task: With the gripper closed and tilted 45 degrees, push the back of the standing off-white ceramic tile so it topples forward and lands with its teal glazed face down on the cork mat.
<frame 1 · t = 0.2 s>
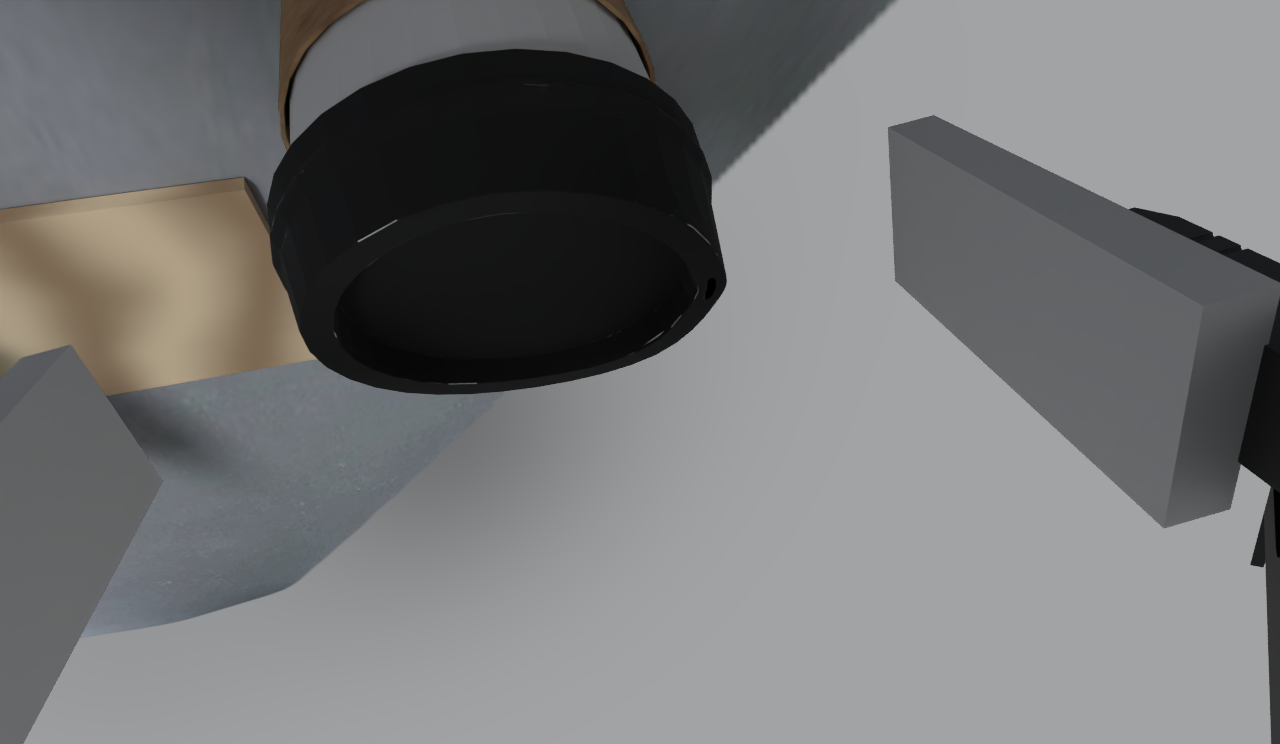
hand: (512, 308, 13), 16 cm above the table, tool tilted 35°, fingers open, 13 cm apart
mat: (77, 310, 35), on the table
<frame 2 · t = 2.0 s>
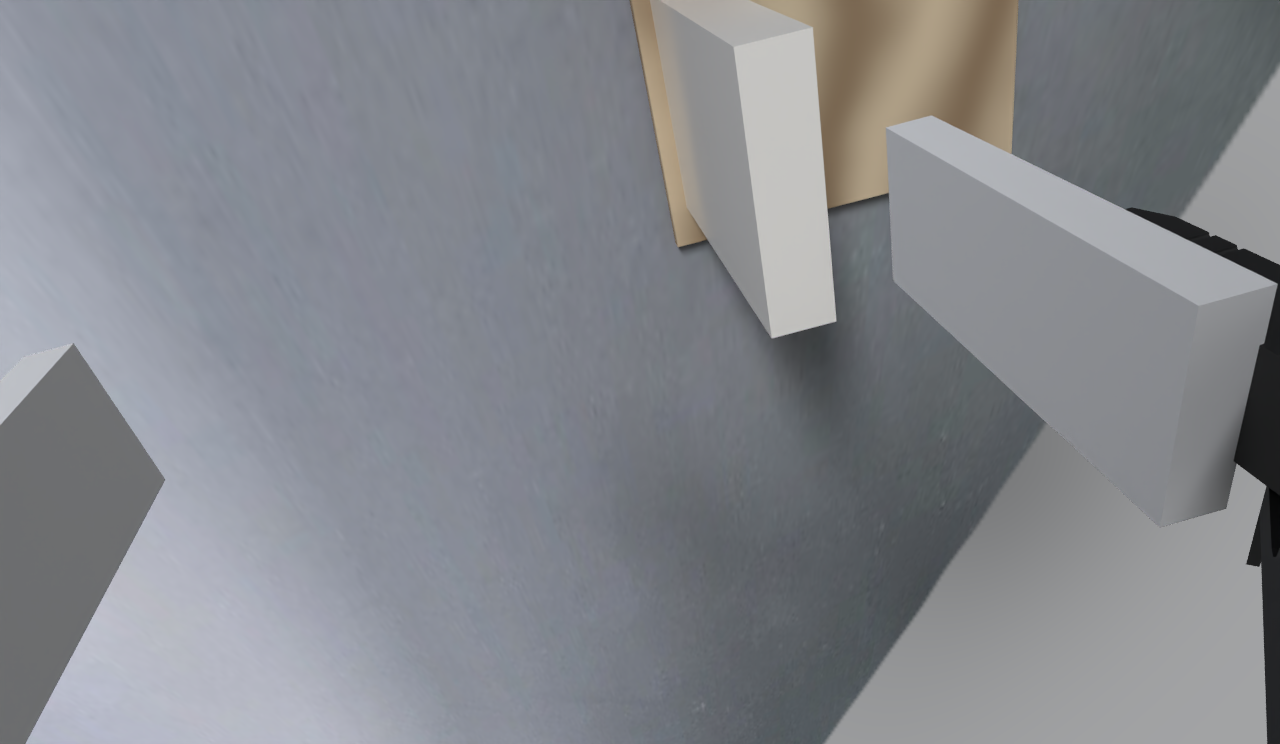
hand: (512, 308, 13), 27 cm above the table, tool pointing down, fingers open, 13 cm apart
tile: (693, 101, 38), point 1 cm above the table, touching mat
mat: (832, 62, 39), on the table
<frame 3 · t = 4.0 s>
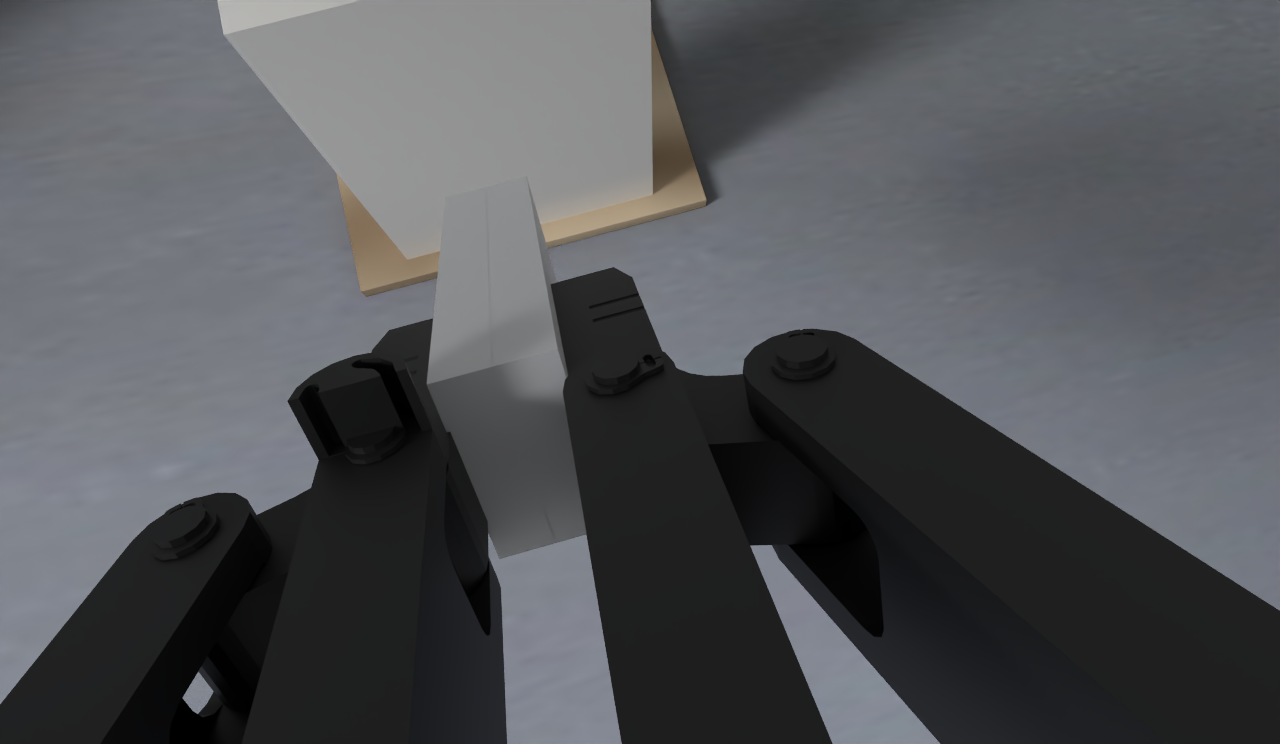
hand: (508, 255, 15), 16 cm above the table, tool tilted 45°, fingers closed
tile: (523, 199, 33), point 1 cm above the table, touching mat
mat: (487, 59, 35), on the table
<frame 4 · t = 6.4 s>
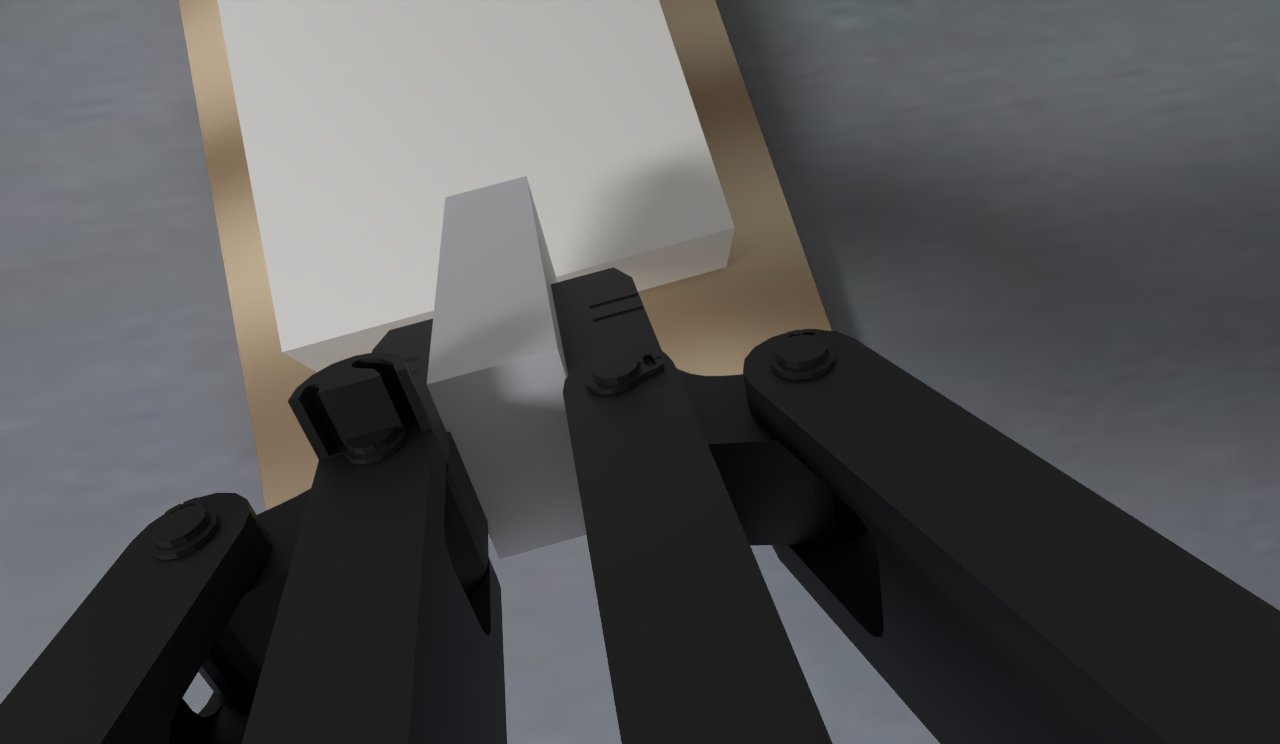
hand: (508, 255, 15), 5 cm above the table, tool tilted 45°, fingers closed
tile: (520, 306, 19), point 2 cm above the table, tilted 90°, touching mat
mat: (481, 136, 22), on the table
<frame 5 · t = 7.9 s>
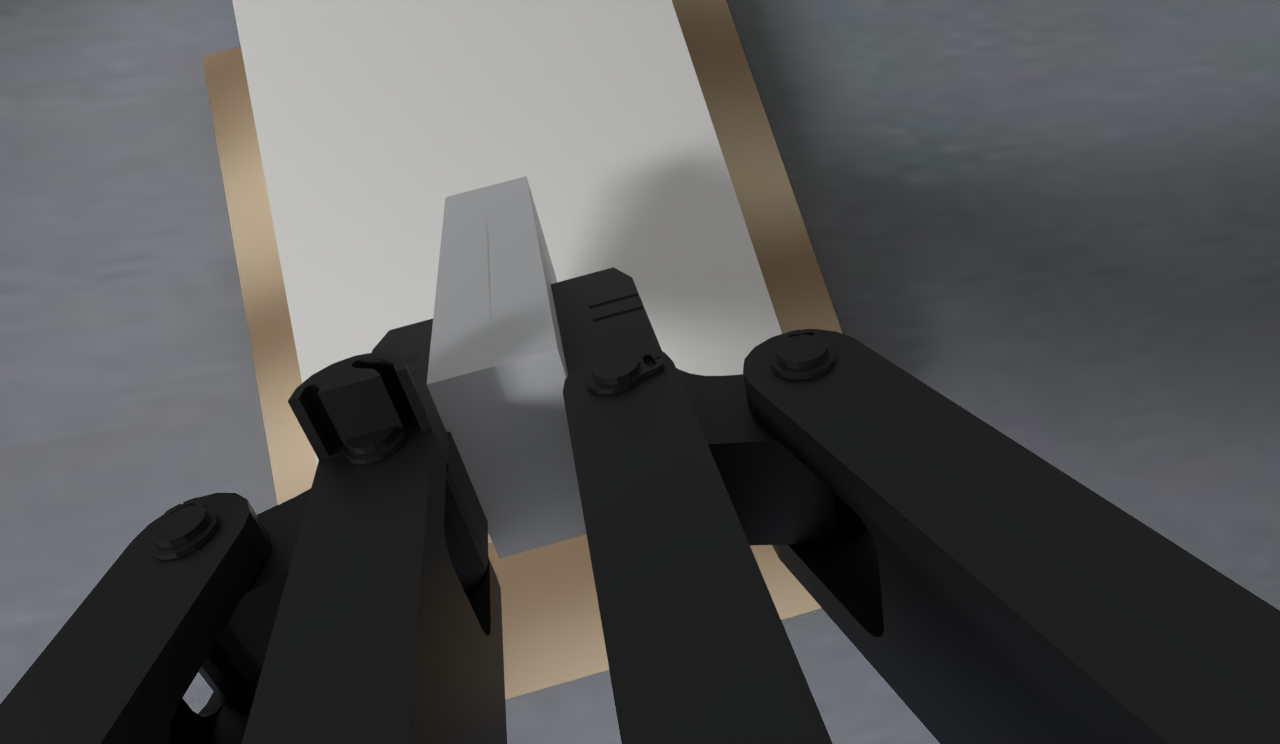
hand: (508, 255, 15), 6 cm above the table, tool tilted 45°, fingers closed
tile: (585, 511, 18), point 2 cm above the table, tilted 90°, touching mat
mat: (536, 301, 21), on the table
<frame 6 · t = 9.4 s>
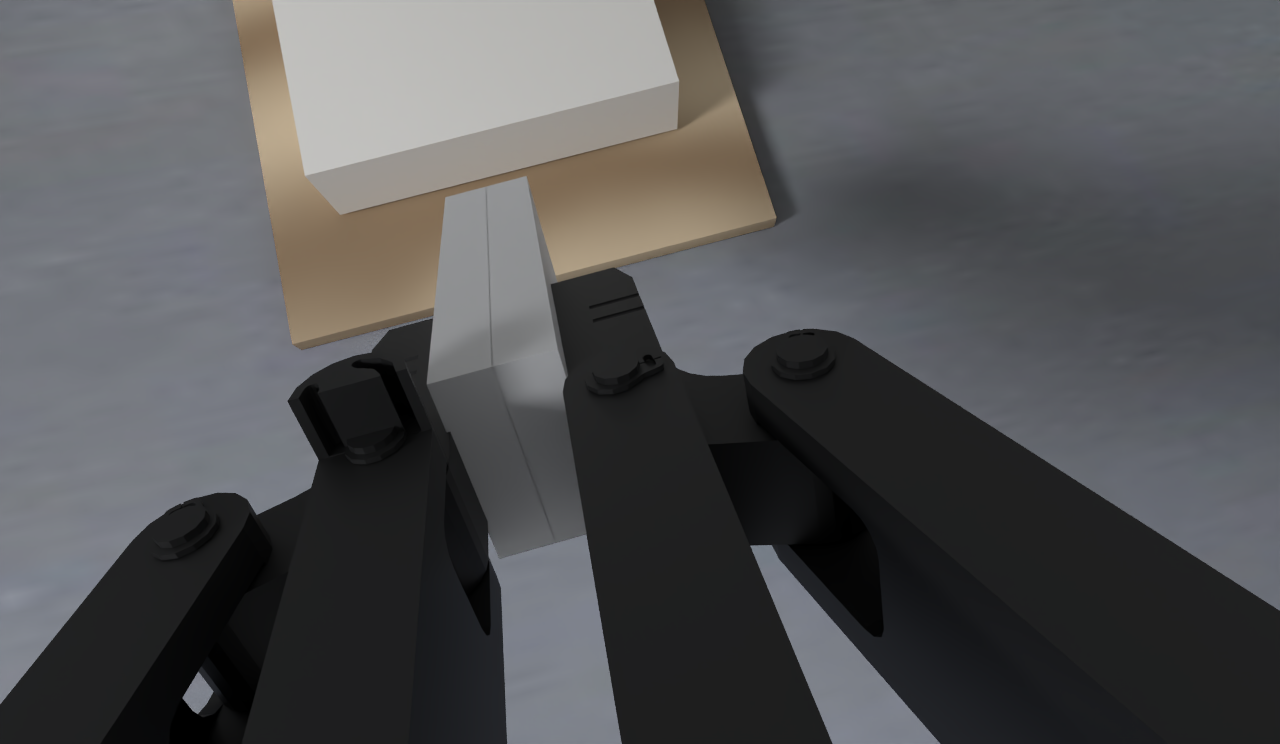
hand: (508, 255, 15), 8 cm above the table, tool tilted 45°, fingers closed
tile: (502, 150, 22), point 2 cm above the table, tilted 90°, touching mat
mat: (473, 24, 26), on the table
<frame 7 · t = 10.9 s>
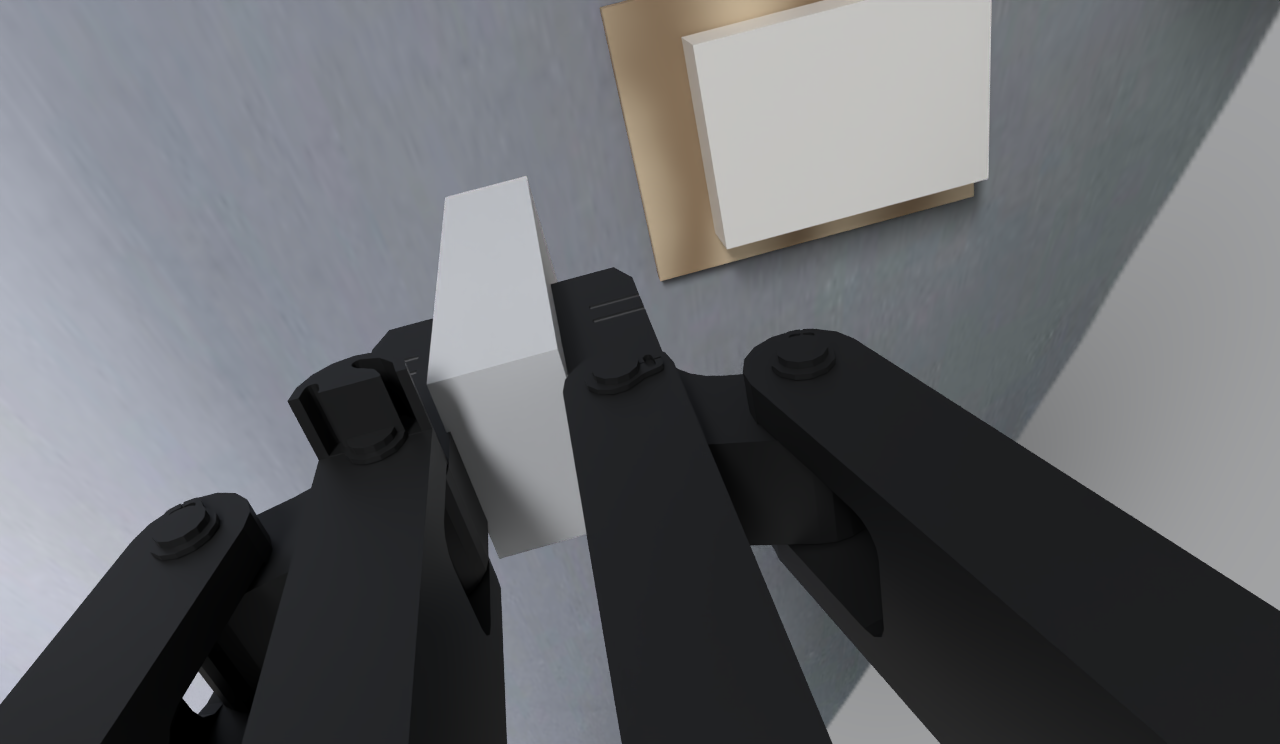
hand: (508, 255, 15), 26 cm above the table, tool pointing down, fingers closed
tile: (705, 147, 40), point 2 cm above the table, tilted 90°, touching mat
mat: (801, 109, 42), on the table
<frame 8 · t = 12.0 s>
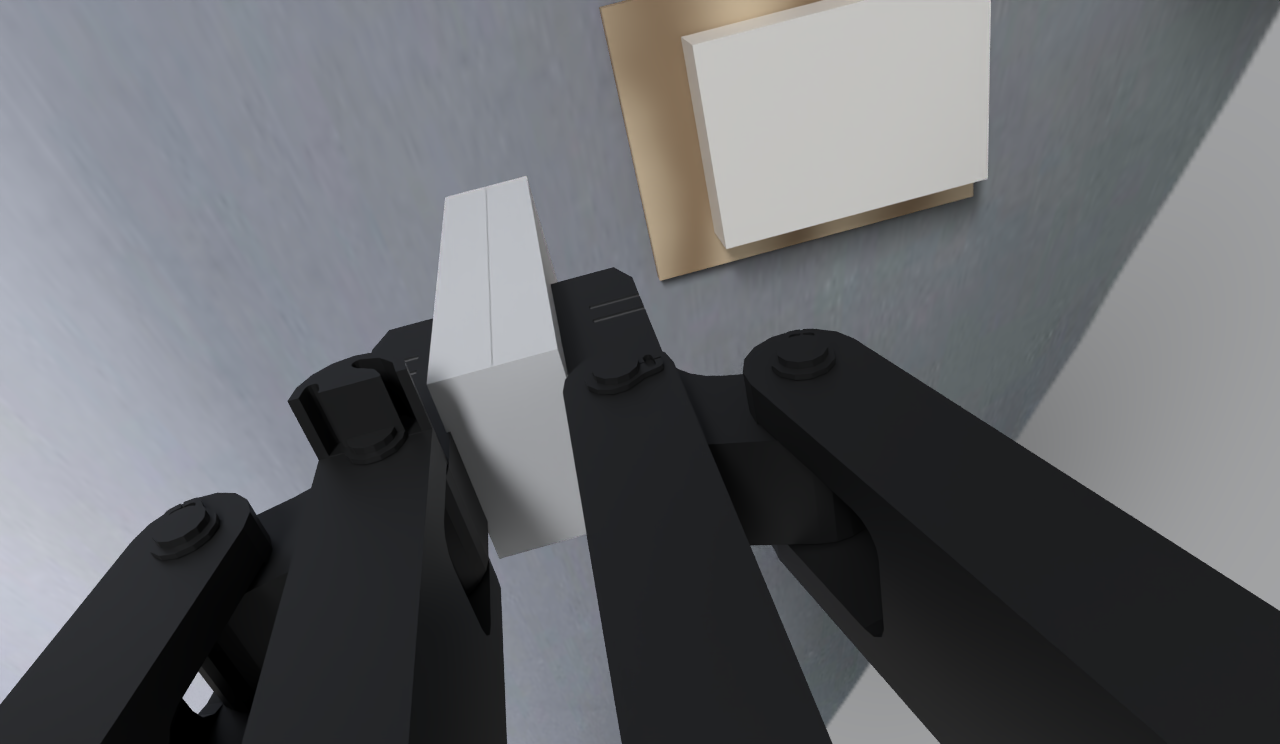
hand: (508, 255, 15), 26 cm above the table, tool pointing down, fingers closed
tile: (704, 147, 40), point 2 cm above the table, tilted 90°, touching mat
mat: (801, 109, 42), on the table
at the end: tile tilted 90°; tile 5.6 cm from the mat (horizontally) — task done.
